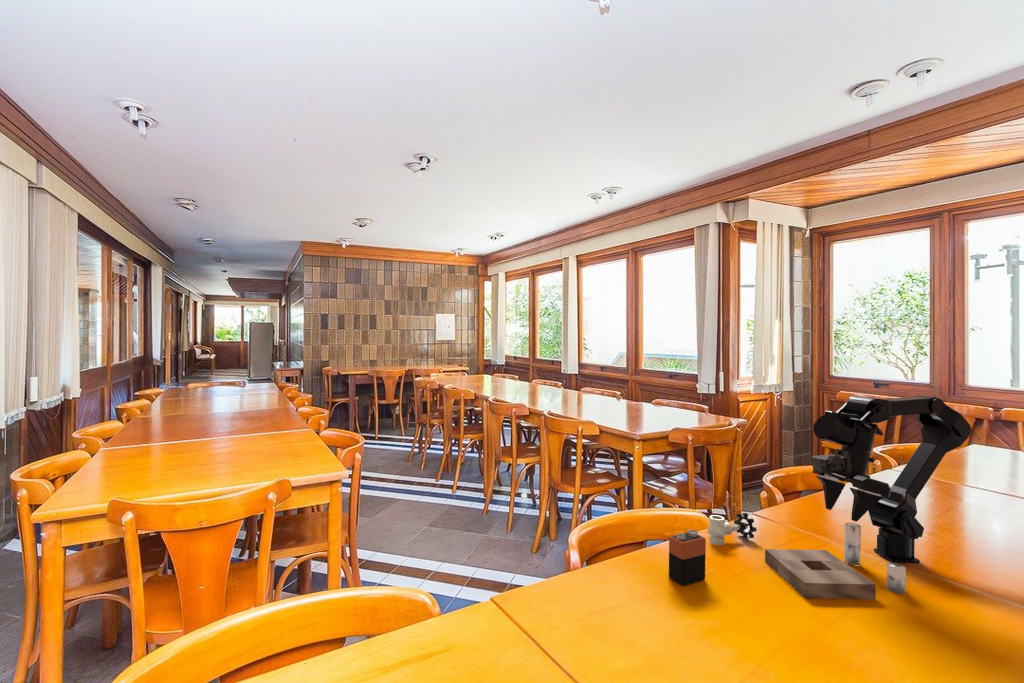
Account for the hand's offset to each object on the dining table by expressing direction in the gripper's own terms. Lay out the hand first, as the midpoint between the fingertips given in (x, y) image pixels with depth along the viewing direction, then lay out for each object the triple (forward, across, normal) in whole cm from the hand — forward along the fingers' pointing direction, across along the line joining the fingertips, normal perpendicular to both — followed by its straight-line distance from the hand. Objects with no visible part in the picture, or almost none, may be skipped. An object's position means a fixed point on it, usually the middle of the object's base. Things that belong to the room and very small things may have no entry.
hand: (840, 514), depth 114 cm
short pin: (+11, +11, +7) cm, 17 cm away
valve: (+16, -13, -17) cm, 27 cm away
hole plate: (+14, +7, -7) cm, 17 cm away
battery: (+21, +8, -34) cm, 41 cm away
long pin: (+10, -1, +6) cm, 12 cm away
